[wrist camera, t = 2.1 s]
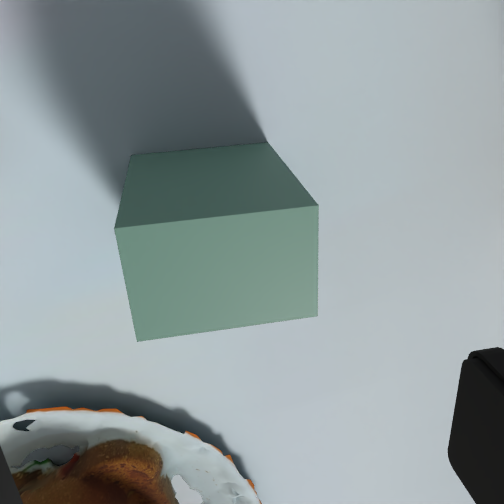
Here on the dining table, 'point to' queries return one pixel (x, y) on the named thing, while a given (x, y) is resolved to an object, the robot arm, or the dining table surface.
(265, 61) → the dining table surface
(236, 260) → the green rectangular block
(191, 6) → the dining table surface
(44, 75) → the dining table surface
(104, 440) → the food on plate
